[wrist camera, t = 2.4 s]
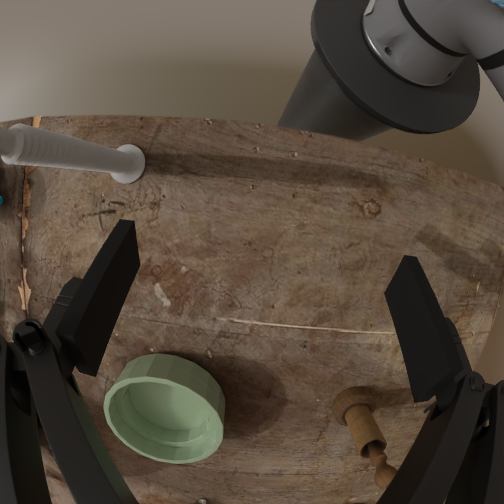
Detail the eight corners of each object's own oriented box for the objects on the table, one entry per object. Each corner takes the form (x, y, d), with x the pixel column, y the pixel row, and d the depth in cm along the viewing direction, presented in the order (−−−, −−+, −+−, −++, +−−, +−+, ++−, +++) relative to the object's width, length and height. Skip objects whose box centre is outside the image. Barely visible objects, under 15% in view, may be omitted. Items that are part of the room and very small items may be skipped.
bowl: (227, 356, 41) (225, 385, 34) (224, 438, 44) (221, 469, 37) (113, 342, 40) (94, 366, 33) (127, 425, 43) (115, 452, 36)
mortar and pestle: (347, 381, 42) (390, 465, 24) (378, 391, 43) (425, 468, 25) (323, 412, 43) (353, 499, 25) (354, 421, 44) (389, 500, 26)
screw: (-41, 199, 11) (-51, 128, 10) (117, 190, 36) (104, 156, 35) (7, 151, 11) (-5, 76, 10) (151, 172, 36) (137, 137, 35)
